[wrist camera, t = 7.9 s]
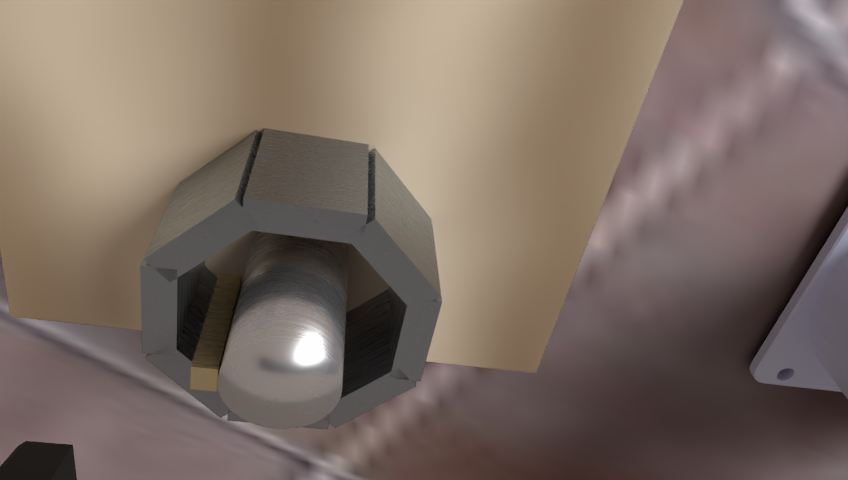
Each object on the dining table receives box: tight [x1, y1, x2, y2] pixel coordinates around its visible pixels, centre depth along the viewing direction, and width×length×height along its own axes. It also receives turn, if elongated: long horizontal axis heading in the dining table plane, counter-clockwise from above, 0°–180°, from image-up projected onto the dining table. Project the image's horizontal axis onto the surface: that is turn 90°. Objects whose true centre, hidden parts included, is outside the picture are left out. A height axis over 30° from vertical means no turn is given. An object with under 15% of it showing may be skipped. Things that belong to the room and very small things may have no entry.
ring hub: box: [140, 128, 442, 429], centre depth 16 cm, size 6×6×3 cm
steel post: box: [190, 232, 349, 429], centre depth 16 cm, size 3×2×4 cm
